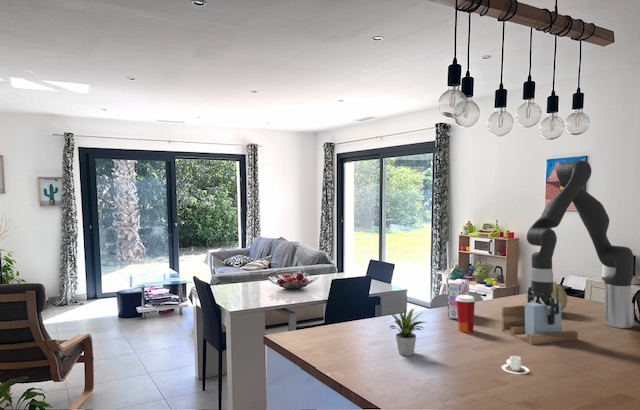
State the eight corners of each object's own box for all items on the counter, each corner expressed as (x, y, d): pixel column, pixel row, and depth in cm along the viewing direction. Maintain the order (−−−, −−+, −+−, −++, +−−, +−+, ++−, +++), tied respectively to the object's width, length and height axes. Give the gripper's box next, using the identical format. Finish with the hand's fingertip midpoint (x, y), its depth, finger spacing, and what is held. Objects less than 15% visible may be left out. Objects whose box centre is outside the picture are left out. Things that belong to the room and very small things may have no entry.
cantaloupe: (524, 311, 202) (524, 280, 202) (549, 308, 207) (548, 277, 207) (550, 318, 188) (549, 285, 188) (575, 315, 193) (574, 283, 193)
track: (502, 331, 171) (501, 306, 171) (545, 327, 175) (544, 303, 175) (531, 344, 155) (530, 317, 155) (577, 340, 159) (577, 313, 159)
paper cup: (473, 328, 176) (472, 294, 176) (478, 333, 168) (477, 298, 168) (453, 327, 177) (453, 294, 177) (458, 333, 169) (457, 298, 169)
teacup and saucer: (506, 363, 138) (506, 350, 138) (532, 368, 133) (532, 355, 133) (498, 371, 132) (497, 358, 132) (525, 377, 126) (525, 364, 126)
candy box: (460, 320, 188) (459, 283, 188) (447, 318, 191) (446, 282, 191) (470, 314, 199) (469, 279, 199) (458, 312, 202) (457, 278, 202)
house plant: (393, 363, 139) (392, 313, 139) (376, 349, 152) (376, 304, 152) (432, 358, 142) (431, 310, 142) (412, 345, 156) (411, 301, 156)
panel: (552, 331, 166) (551, 301, 166) (561, 335, 161) (561, 304, 161) (525, 333, 164) (524, 303, 164) (534, 337, 159) (533, 306, 159)
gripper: (564, 282, 156) (565, 325, 156) (537, 276, 170) (538, 316, 170) (547, 283, 155) (547, 327, 155) (521, 277, 169) (522, 317, 169)
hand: (542, 321), depth 163 cm, fingers open, 8 cm apart
